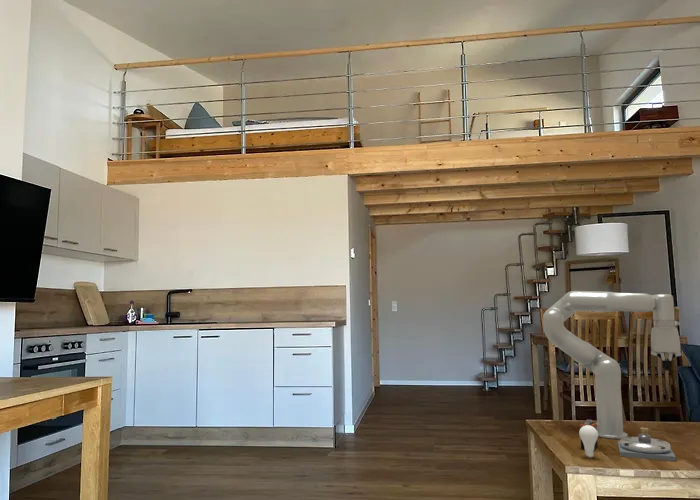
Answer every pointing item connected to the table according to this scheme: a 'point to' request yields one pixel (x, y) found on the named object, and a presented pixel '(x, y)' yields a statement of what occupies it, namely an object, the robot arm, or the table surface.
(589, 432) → the lightbulb
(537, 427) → the table surface
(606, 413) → the robot arm
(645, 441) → the round tabbed tray
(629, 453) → the base plate
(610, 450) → the table surface
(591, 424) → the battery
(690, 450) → the table surface
